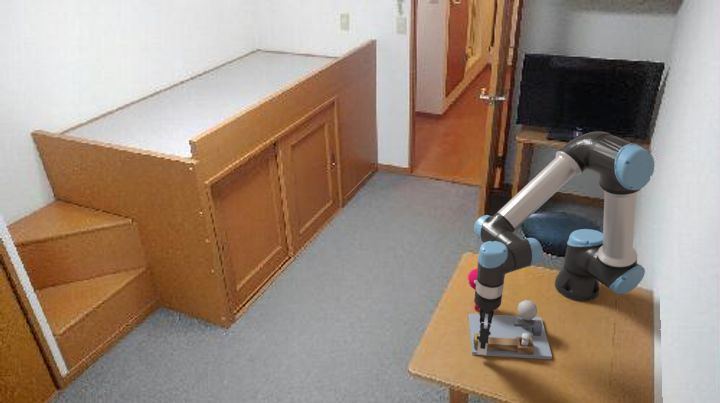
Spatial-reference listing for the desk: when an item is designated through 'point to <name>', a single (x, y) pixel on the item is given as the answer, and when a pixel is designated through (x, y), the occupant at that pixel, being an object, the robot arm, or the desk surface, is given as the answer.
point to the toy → (472, 278)
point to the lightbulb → (527, 311)
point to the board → (510, 336)
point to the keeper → (530, 325)
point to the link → (507, 344)
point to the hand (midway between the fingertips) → (481, 352)
